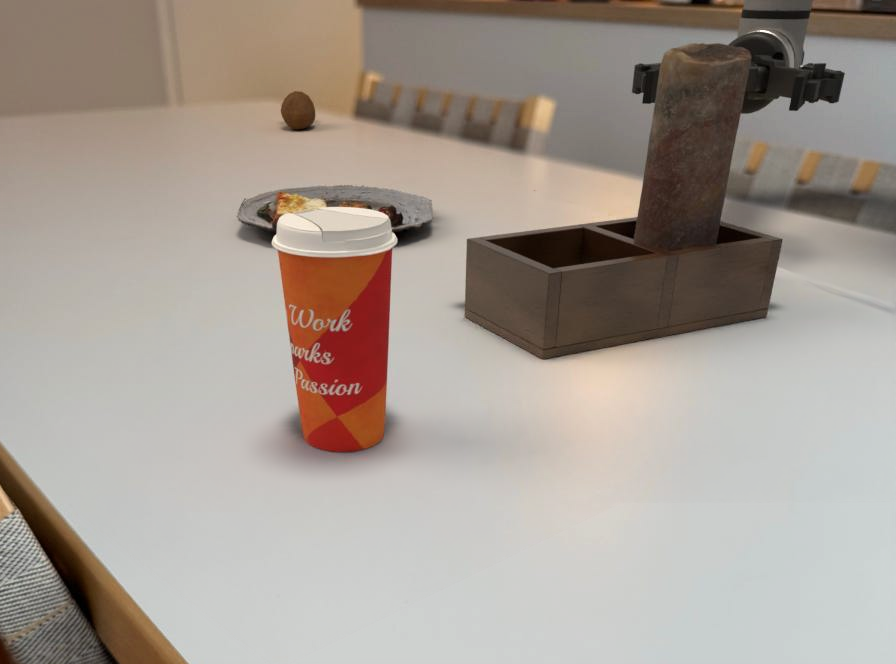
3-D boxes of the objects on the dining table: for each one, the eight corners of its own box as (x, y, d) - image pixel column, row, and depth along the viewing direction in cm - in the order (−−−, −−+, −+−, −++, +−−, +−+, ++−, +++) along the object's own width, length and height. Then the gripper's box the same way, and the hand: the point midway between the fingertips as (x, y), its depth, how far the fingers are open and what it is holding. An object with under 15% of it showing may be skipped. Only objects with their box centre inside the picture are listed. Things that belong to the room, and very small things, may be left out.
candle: (720, 294, 90) (765, 45, 78) (691, 313, 85) (734, 50, 74) (644, 281, 94) (677, 41, 82) (612, 299, 89) (642, 46, 77)
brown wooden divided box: (674, 282, 97) (685, 210, 93) (766, 317, 88) (783, 238, 84) (464, 316, 88) (466, 238, 84) (542, 359, 78) (549, 273, 74)
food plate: (435, 252, 107) (435, 218, 105) (227, 252, 107) (223, 218, 105) (430, 205, 127) (430, 176, 125) (255, 205, 127) (253, 176, 125)
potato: (280, 132, 181) (277, 94, 177) (283, 125, 189) (280, 88, 185) (315, 132, 181) (313, 94, 178) (316, 124, 189) (314, 88, 186)
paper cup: (265, 433, 66) (244, 216, 58) (352, 405, 70) (344, 199, 62) (334, 470, 61) (322, 239, 53) (423, 437, 66) (424, 219, 57)
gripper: (865, 116, 103) (851, 143, 87) (636, 104, 111) (586, 128, 96) (885, 33, 99) (874, 47, 83) (645, 28, 107) (594, 40, 91)
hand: (720, 90), depth 89 cm, fingers open, 13 cm apart
